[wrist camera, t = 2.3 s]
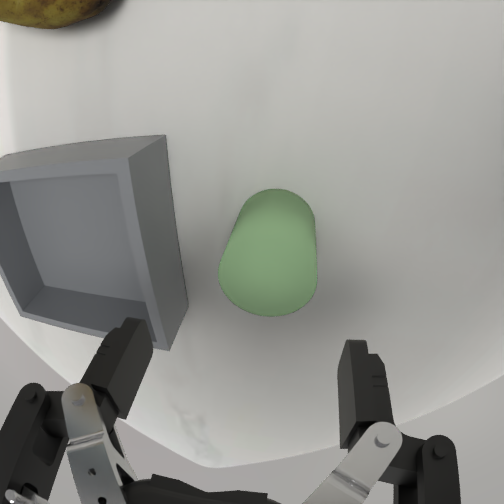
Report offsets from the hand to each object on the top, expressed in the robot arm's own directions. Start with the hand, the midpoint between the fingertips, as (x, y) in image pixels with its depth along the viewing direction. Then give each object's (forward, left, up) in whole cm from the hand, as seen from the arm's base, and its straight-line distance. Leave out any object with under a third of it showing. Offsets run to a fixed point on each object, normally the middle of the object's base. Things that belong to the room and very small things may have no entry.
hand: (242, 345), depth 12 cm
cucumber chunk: (0, 0, -11) cm, 11 cm away
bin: (+15, +1, -11) cm, 18 cm away
